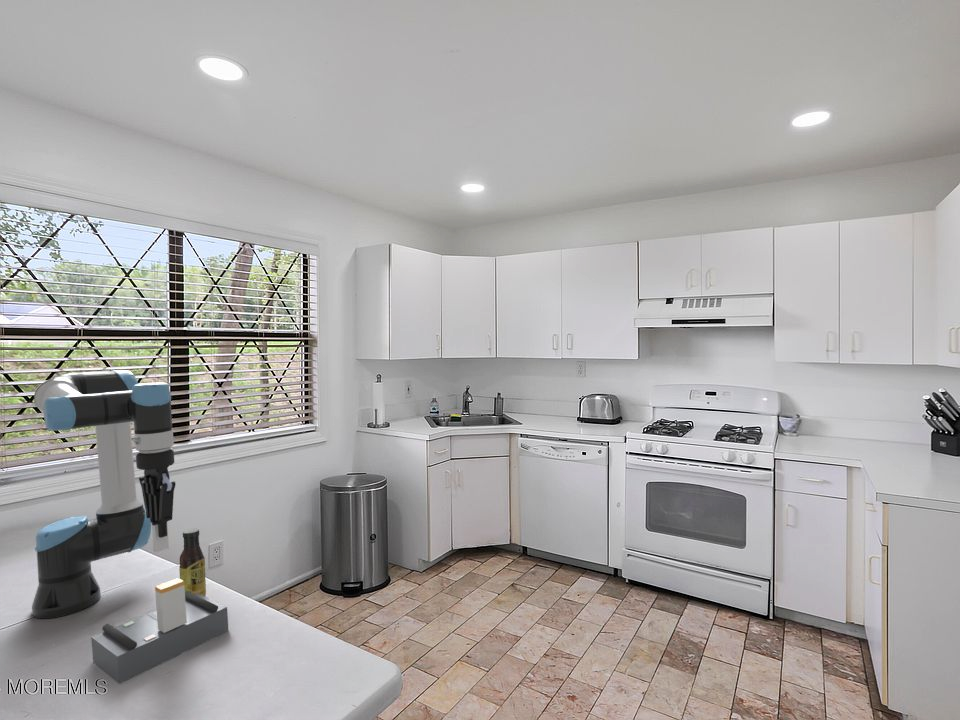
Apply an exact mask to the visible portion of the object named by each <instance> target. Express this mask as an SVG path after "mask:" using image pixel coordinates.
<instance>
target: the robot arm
mask: <svg viewBox="0 0 960 720" xmlns="http://www.w3.org/2000/svg"><path fill="white" fill-rule="evenodd" d="M33 401H34V403H35V406H36V407H37V409H39V411H41V412H42V413H43V418H44V425H45V427H46V429H47V430H48V431H52V432H53V431H69V430H73V429H74V430H75V429H80V428H81V429H83V428H89V427H90V428H91V427H95V435H96V436H95V437H96V447H97V449H96V450H97V460H98V474H99V485H100V486H99V488H100V498H101V505H100V506H99V508H98V509H97V510H96V511H95V515H96V516H95V518H93V519H89V518H88V516H86V515H78V516H71V517H66V518H64V519H60V520H58V521H55V522H52V523H50V524H48V525H46V526H44V527H42V528H41V529H40V530H39V531H38V532H37V533H36V536H35V547H34V551H35V552H36V563H37V564H36V565H37V566H36V567H37V576H38V577H37V579H38V580H37V581H38V586H37V589H36V592H35V595H34V598H33V601H32V605H31V613H32V616H33V617H34V618H37V619H53V618H59V617H60V618H61V617H63V616H67V615H71V614H74V613H77V612H80V611H82V610H84V609H86V608H89V607H90V606H92V605H94V604H96V603H97V602H98V601H99V600H100V598H101V597H102V596H101V587H100V585H99V584H98V581H97V579H96V578H95V577H96V576H95V575H94V574H93V572H92V562H96V561H99V560H103V559H107V558H110V557H114V556H118V555H122V554H125V553H131V552H132V551H135V550H139V549H140V550H141V549H142V548H144V547H145V546H146V545H147V544H148V543H149V540H150V539H151V538H150V537H151V533H152V547H153V548H152V549H153V552H156V553H158V552H159V553H160V552H162V551H165V550H168V549H170V546H169V530H168V529H169V528H168V522H169V521H172V520H173V512H174V497H175V496H174V494H175V492H174V491H175V488H176V481H173V480H172V481H170V479H171V477H170V473H169V469H168V468H169V467H170V466H173V465H174V464H175V451H174V449H173V448H172V447H173V446H174V445H175V444H174V442H175V441H174V431H173V419H172V395H171V391H170V385H169V384H168V382H146V383H139V382H138V379H137V378H136V376H135V374H134V373H132V372H131V371H130V370H123V369H122V370H121V369H120V370H119V369H118V370H114V369H112V370H103V371H88V372H72V373H66V374H64V373H63V374H61V375H57V376H54V377H51V378H49V379H47V380H45V381H43V382H42V383H41V384H40V385H38V387H37V388H36V389H35V391H34V395H33ZM131 422H133V426H134V430H133V431H134V438H133V439H132V428H131V427H132V426H131ZM133 444H135V450H136V451H137V452H136V454H135V463H136V465H135V466H136V468H137V469H138V470H141V471H142V470H143V476H140V477H139V478H138V481H139V484H140V487H141V492H142V499H143V501H141V500H139V499H138V498H137V486H136V475H135V466H134V464H135V463H134V451H133Z"/></svg>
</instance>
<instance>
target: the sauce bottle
mask: <svg viewBox="0 0 960 720" xmlns="http://www.w3.org/2000/svg"><path fill="white" fill-rule="evenodd" d="M182 538H183V550H182V552H181V554H180V556H179V579H181V580H183V581H184V587H185V592H187V591H188V592H190V593H192V594H194V595H195V594H197V593H200V594H202V595H204V596H206V595H207V588H206V587H207V584H206V582H207V581H206V561H205V559H206V558H205V556H204V554H203V551H202V548H201V546H200V529H198V528H191V529H187V530H184V531H182ZM206 597H207V596H206Z"/></svg>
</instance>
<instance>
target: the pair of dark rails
mask: <svg viewBox="0 0 960 720" xmlns="http://www.w3.org/2000/svg"><path fill="white" fill-rule="evenodd" d="M185 598H186V599H188V600H190V601H192V602H194V603H196V604H198V605H199V606H201V607H203V608H205V609H207V610H209V611H211V612H213V613H214V612H216V611H217V610H218V606H217V605H215V604H213V603H211V602H209V601H207V600H204V599H202V598H200V597H198V596H196V595H194V594H192V593H190V592H188V591H187V592H185ZM115 627H116V626H113V625H111V624H110V623H104V625H103V626H102V627H101V629H102V631H103V632H106V633H107V634H109V635H110V636H112V637H113V638H114V639H116V640H117V641H119V642H120V643H121V644H123V645H124V646H126V647H127V648H128V649H130V650H133V649H134V648H135V647H136V646H137V643H136V642H135V641H134V640H132V639H131V638H129V637H128V636H126V635H125V634H123V633H122V632H120V631H119V630H117V629H116V628H115Z"/></svg>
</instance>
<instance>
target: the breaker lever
mask: <svg viewBox="0 0 960 720" xmlns="http://www.w3.org/2000/svg"><path fill="white" fill-rule="evenodd" d="M154 590H155V606H156V607H155V608H156V609H155V610H157V624H158V630H160V631H162V632H163V633H165V632H167V631H170V630H172V629H174V628H176V627H179V626H181V625H183V624H185V623H187V619H186V603H185V587H184V581H183V580H181V579H180V577H176V578H173V579H172V580H169V581H166V582H163V583H160V584H158V585H155V586H154Z"/></svg>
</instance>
